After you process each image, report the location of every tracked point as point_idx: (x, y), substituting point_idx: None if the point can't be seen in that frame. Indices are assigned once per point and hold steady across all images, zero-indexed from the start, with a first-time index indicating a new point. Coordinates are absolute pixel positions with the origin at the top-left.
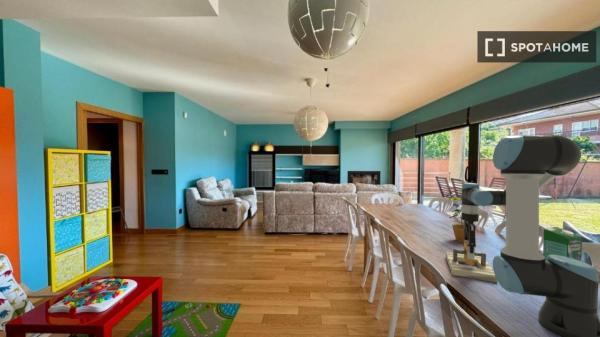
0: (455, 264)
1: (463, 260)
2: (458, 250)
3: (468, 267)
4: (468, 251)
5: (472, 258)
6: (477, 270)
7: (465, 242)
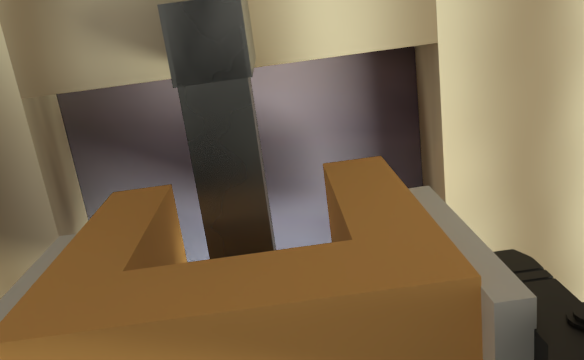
0: (51, 40)
1: (431, 141)
2: (181, 107)
3: (46, 201)
4: (2, 308)
5: None
6: (4, 294)
7: (390, 308)
